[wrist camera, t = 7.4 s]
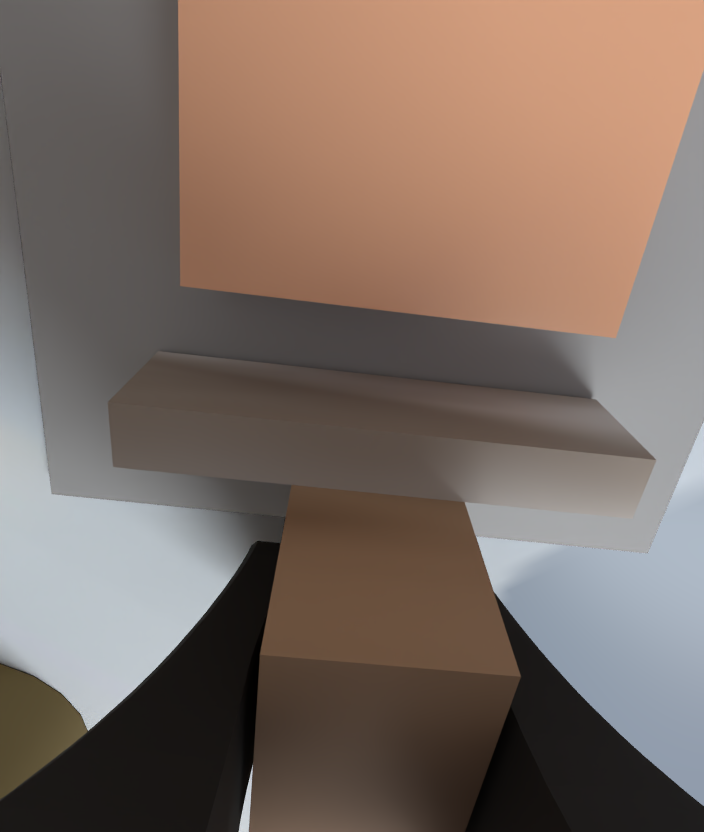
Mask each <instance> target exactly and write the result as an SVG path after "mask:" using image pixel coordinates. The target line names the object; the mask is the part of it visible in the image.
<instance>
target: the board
mask: <svg viewBox="0 0 704 832" xmlns="http://www.w3.org/2000/svg"><path fill="white" fill-rule="evenodd" d="M0 72H1V80H2V88H3V97H4V105H5V113H6V121H7V130H8V138H9V146H10V154H11V163H12V171H13V179H14V187H15V195H16V204H17V212H18V220H19V228H20V237H21V245H22V253H23V261H24V270H25V278H26V286H27V294H28V303H29V311H30V319H31V327H32V335H33V344H34V352H35V360H36V368H37V377H38V385H39V393H40V401H41V410H42V418H43V426H44V434H45V443H46V451H47V459H48V467H49V475H50V484H51V492H52V494H56V495H66V496H76V497H86V498H96V499H106V500H116V501H126V502H136V503H147V504H157V505H167V506H177V507H187V508H197V509H207V510H217V511H227V512H237V513H247V514H257V515H267V516H277V517H286V512H287V507H288V501H289V496H290V491H291V485H288V484H278V483H267V482H257V481H247V480H237V479H227V478H217V477H207V476H197V475H187V474H177V473H167V472H157V471H147V470H137V469H127V468H117V467H113V462H112V450H111V438H110V426H109V414H108V401H109V400H110V399H111V398H112V397H113V396H114V395H115V394H116V393H117V392H118V391H119V390H120V389H121V388H122V387H123V386H124V385H125V384H126V383H127V382H128V381H129V380H130V379H131V378H132V377H133V376H134V375H135V374H136V373H137V372H138V371H139V370H140V369H141V368H142V367H143V366H144V365H145V364H146V363H147V362H148V361H149V360H150V359H151V358H152V357H153V356H154V355H155V354H156V353H157V352H158V351H162V352H171V353H180V354H189V355H198V356H207V357H216V358H225V359H234V360H244V361H253V362H262V363H271V364H280V365H289V366H298V367H307V368H316V369H325V370H334V371H343V372H352V373H361V374H370V375H380V376H389V377H398V378H407V379H416V380H425V381H434V382H443V383H452V384H461V385H470V386H479V387H488V388H497V389H507V390H516V391H525V392H534V393H543V394H552V395H561V396H570V397H579V398H588V399H596V400H597V401H598V402H599V403H600V404H601V405H602V406H603V407H604V408H605V409H606V410H607V411H608V412H609V413H610V414H611V415H612V416H613V417H614V418H615V419H616V420H617V421H618V422H619V423H620V424H621V425H622V426H623V427H624V428H625V429H626V430H627V431H628V432H629V433H630V434H631V435H632V436H633V437H634V438H635V439H636V440H637V441H638V442H639V443H640V444H641V445H642V446H643V447H644V448H645V449H646V450H647V451H648V452H649V453H650V454H651V455H652V456H653V457H654V458H655V459H656V463H655V465H654V468H653V470H652V473H651V475H650V477H649V480H648V482H647V485H646V487H645V489H644V492H643V494H642V497H641V499H640V502H639V504H638V506H637V509H636V511H635V514H634V516H633V518H632V519H629V518H619V517H609V516H599V515H589V514H579V513H569V512H559V511H549V510H539V509H529V508H519V507H509V506H498V505H488V504H478V503H468V502H465V505H466V508H467V511H468V514H469V517H470V520H471V523H472V527H473V530H474V533H475V536H478V537H488V538H498V539H508V540H518V541H528V542H538V543H548V544H558V545H569V546H579V547H589V548H599V549H609V550H620V551H629V552H639V553H648V552H649V549H650V547H651V544H652V542H653V539H654V537H655V535H656V533H657V530H658V527H659V525H660V523H661V521H662V518H663V516H664V514H665V511H666V509H667V506H668V504H669V502H670V499H671V497H672V495H673V492H674V490H675V488H676V485H677V483H678V480H679V478H680V476H681V473H682V471H683V469H684V466H685V464H686V461H687V459H688V457H689V454H690V452H691V450H692V447H693V445H694V442H695V440H696V438H697V435H698V433H699V431H700V428H701V426H702V423H703V421H704V70H703V73H702V76H701V80H700V83H699V86H698V89H697V92H696V95H695V98H694V101H693V104H692V107H691V110H690V113H689V116H688V119H687V122H686V125H685V128H684V131H683V135H682V138H681V141H680V144H679V147H678V150H677V153H676V156H675V159H674V162H673V165H672V168H671V171H670V174H669V177H668V180H667V183H666V186H665V190H664V193H663V196H662V199H661V202H660V205H659V208H658V211H657V214H656V217H655V220H654V223H653V226H652V229H651V232H650V235H649V238H648V241H647V245H646V248H645V251H644V254H643V257H642V260H641V263H640V266H639V269H638V272H637V275H636V278H635V281H634V284H633V287H632V290H631V293H630V296H629V300H628V303H627V306H626V309H625V312H624V315H623V318H622V321H621V324H620V327H619V330H618V333H617V336H616V338H610V337H601V336H593V335H585V334H576V333H568V332H560V331H551V330H543V329H534V328H526V327H518V326H509V325H501V324H493V323H484V322H476V321H468V320H459V319H451V318H443V317H434V316H426V315H418V314H409V313H401V312H392V311H384V310H376V309H367V308H359V307H351V306H342V305H334V304H326V303H317V302H309V301H301V300H292V299H284V298H276V297H267V296H259V295H251V294H242V293H234V292H225V291H217V290H209V289H200V288H192V287H184V286H180V182H179V51H178V0H0Z"/></svg>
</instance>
